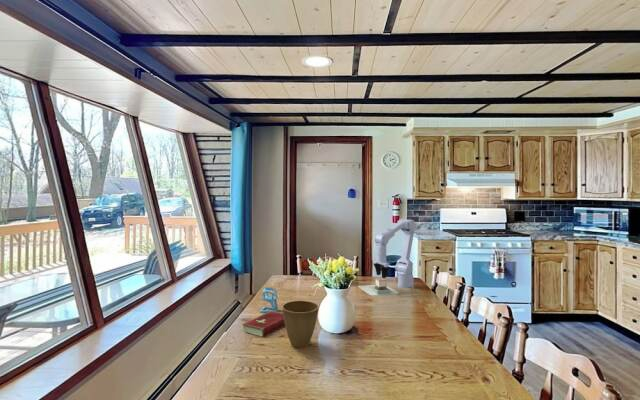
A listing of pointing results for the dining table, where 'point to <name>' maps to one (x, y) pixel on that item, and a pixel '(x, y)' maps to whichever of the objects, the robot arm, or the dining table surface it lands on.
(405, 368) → the dining table surface
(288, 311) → the plant pot
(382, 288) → the walnut block
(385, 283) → the cream box
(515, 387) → the dining table surface
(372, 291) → the packing board
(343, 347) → the dining table surface
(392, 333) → the dining table surface
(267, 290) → the chair
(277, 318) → the hardcover book
